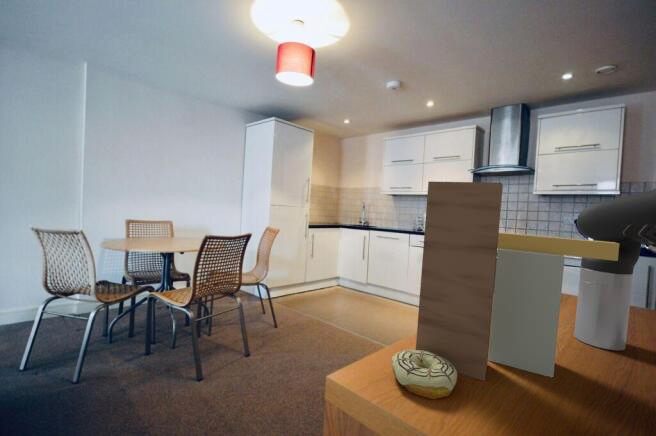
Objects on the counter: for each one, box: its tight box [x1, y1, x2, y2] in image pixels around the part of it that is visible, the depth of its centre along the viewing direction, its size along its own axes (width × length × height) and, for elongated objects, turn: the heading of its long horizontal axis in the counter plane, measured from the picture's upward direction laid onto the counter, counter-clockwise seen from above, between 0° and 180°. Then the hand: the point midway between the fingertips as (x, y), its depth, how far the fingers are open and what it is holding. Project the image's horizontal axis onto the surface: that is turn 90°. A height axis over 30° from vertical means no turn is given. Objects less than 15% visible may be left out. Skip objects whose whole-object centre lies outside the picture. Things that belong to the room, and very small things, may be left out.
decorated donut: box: [391, 349, 458, 400], centre depth 53 cm, size 10×11×4 cm
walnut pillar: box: [415, 180, 504, 382], centre depth 59 cm, size 7×12×34 cm, turn 60°
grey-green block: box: [488, 248, 566, 378], centre depth 62 cm, size 8×10×22 cm
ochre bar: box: [497, 231, 619, 261], centre depth 60 cm, size 3×20×3 cm, turn 60°
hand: (633, 228), depth 54 cm, fingers open, 8 cm apart
